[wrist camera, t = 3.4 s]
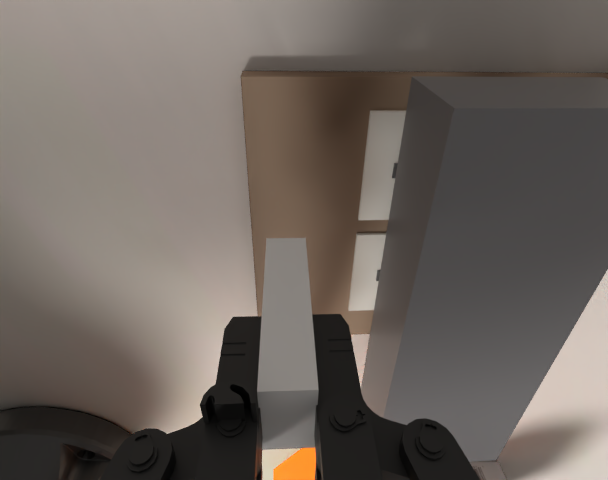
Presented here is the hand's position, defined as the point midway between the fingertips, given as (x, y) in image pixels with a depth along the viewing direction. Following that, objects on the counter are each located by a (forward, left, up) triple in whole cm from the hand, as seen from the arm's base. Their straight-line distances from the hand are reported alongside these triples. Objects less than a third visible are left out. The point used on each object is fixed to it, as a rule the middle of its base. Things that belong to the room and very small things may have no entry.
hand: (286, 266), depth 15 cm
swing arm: (+9, -7, -4) cm, 12 cm away
